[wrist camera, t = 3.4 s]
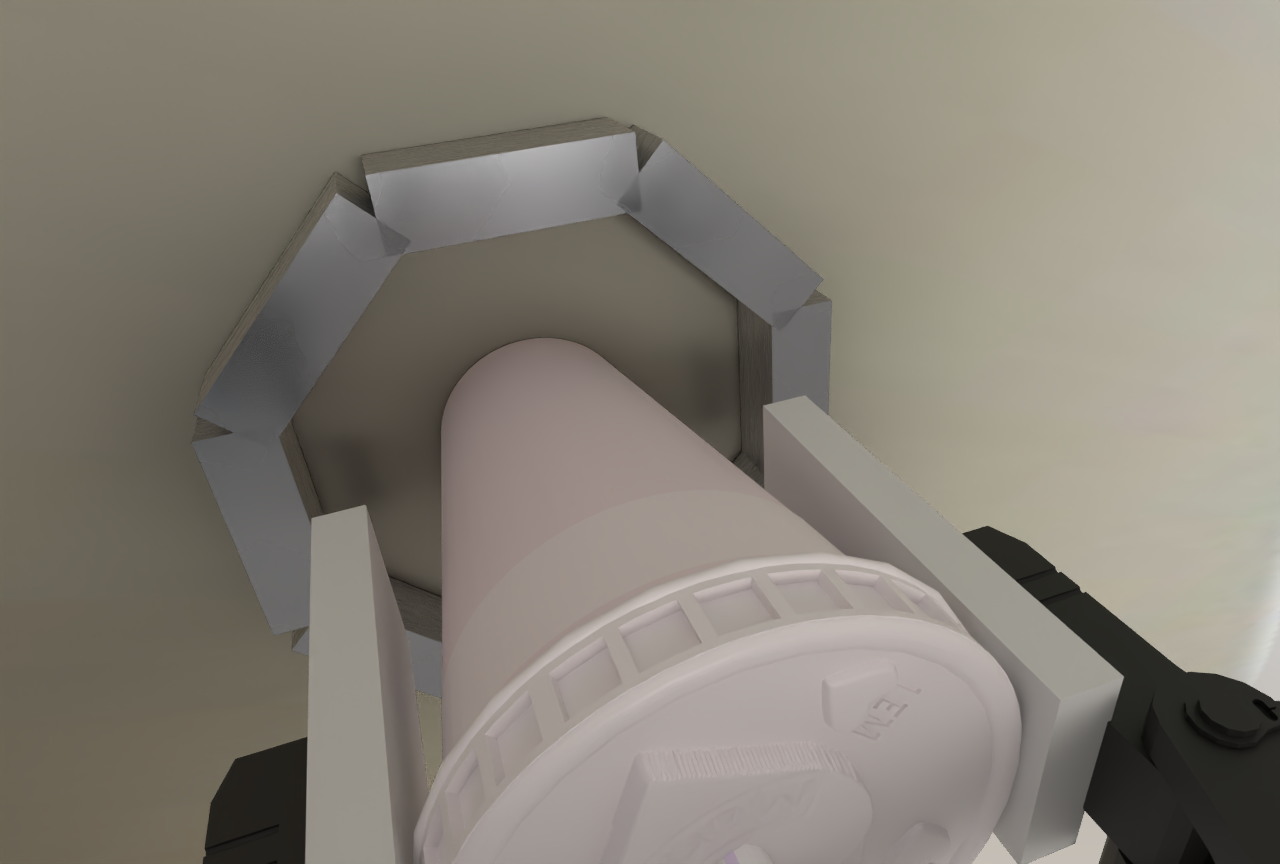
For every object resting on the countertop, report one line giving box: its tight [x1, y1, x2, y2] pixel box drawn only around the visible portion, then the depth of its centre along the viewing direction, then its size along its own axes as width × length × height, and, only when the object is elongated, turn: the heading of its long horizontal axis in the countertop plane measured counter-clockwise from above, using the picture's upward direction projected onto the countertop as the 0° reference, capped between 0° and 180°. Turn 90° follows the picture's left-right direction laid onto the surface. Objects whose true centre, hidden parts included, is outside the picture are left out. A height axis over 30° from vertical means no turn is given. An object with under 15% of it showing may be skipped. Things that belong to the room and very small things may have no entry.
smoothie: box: [413, 338, 1022, 864], centre depth 10 cm, size 6×6×14 cm
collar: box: [191, 117, 832, 698], centre depth 16 cm, size 11×11×2 cm
